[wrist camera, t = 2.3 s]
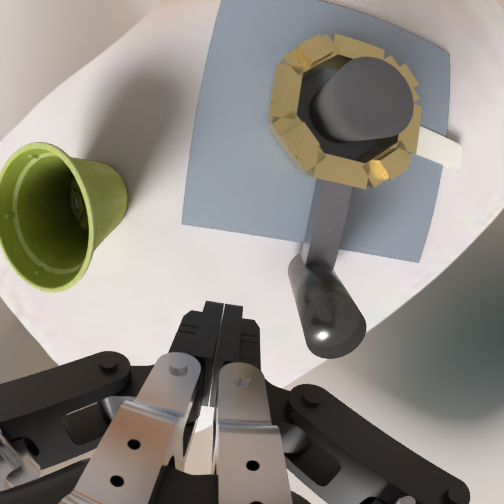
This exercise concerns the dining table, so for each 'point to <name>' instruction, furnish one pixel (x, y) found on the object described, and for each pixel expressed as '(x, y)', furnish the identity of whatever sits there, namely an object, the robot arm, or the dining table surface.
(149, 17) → the dining table surface
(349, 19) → the hub board
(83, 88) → the dining table surface
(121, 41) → the dining table surface
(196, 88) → the dining table surface
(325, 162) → the ring with upright handle
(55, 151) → the plant pot
